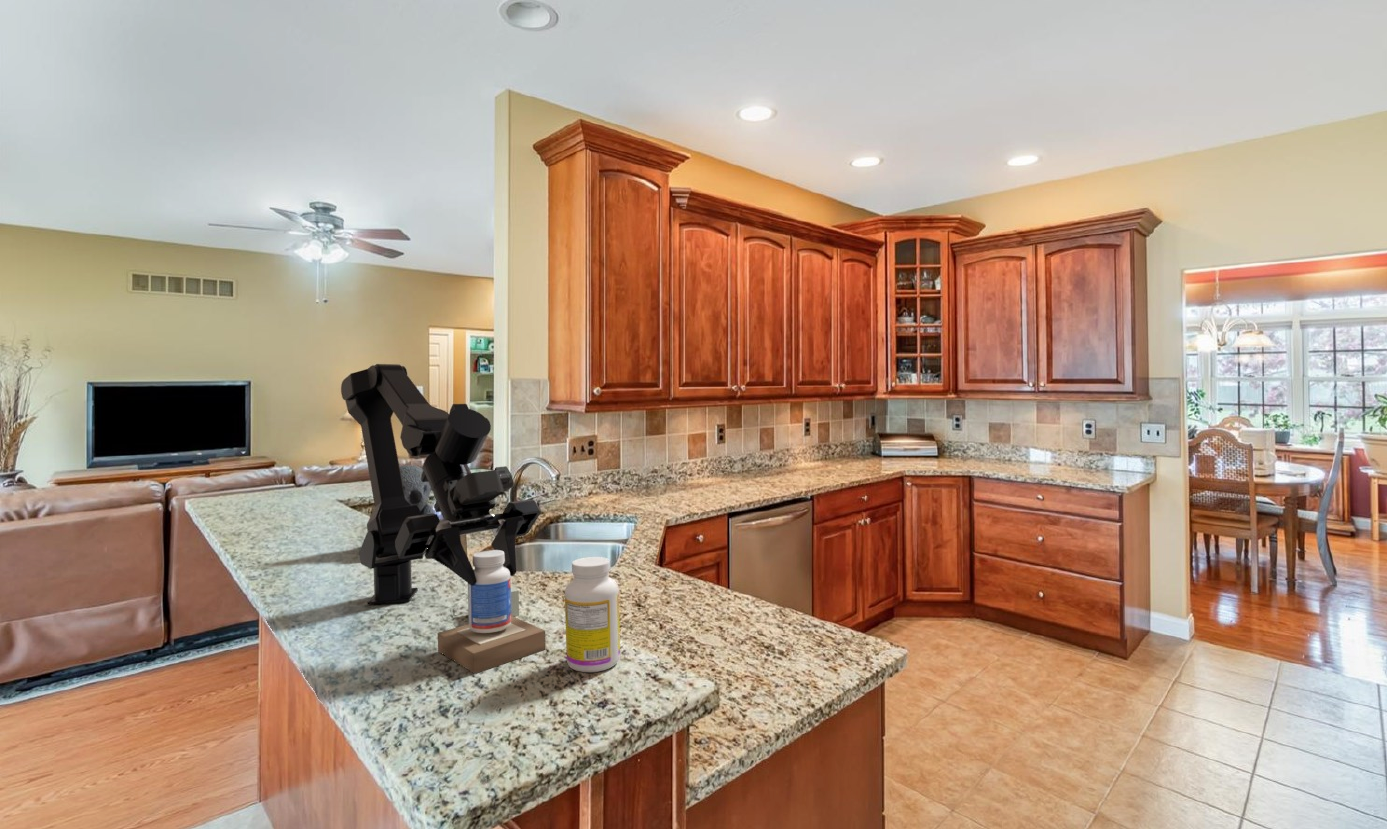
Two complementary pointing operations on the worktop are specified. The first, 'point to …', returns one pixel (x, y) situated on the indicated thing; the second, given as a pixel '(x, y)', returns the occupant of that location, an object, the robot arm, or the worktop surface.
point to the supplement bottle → (592, 616)
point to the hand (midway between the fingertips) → (494, 578)
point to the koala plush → (416, 488)
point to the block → (514, 601)
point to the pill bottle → (489, 593)
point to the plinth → (491, 645)
